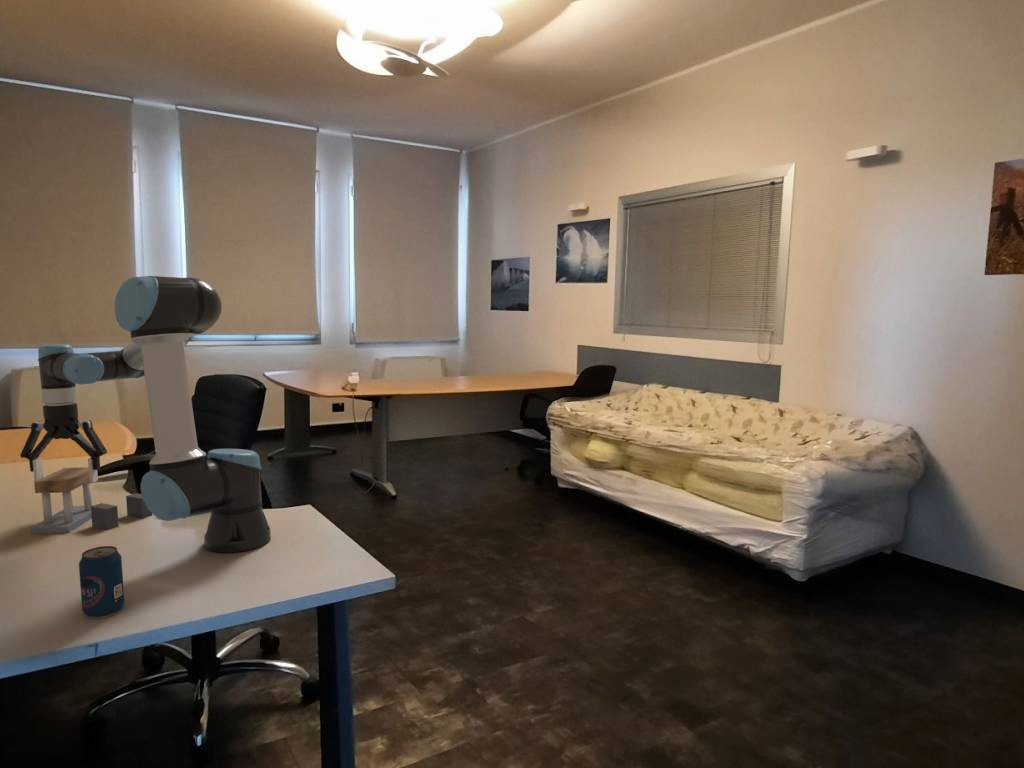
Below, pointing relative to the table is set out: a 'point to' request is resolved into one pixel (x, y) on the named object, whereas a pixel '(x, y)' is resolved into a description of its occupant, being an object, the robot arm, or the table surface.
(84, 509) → the peg stand
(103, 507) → the rests
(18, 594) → the table surface
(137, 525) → the table surface
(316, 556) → the table surface
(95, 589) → the soda can
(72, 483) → the shelf board
